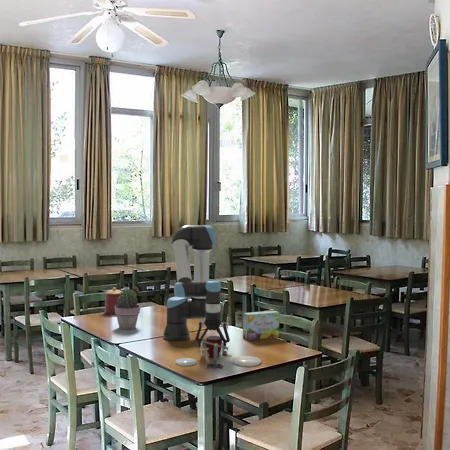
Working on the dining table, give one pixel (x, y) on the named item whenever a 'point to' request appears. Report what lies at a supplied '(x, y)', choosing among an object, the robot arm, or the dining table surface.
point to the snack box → (261, 325)
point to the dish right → (246, 361)
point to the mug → (211, 347)
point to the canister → (111, 300)
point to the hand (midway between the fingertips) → (212, 355)
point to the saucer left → (185, 361)
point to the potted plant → (127, 309)
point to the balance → (215, 365)
